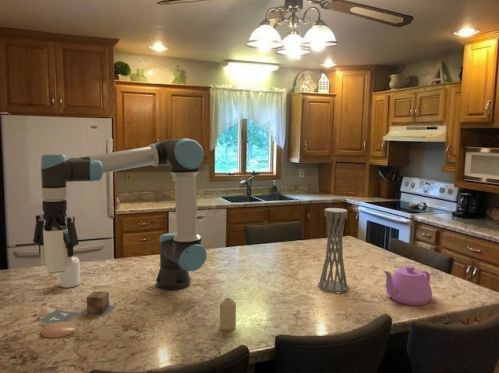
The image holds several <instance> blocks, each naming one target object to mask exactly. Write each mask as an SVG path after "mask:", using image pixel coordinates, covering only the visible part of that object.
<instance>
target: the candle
mask: <svg viewBox="0 0 499 373" xmlns="http://www.w3.org/2000/svg"><path fill="white" fill-rule="evenodd" d="M236 316H237V303H236V301H234V299H231V298H230V297H226V298H224V299H223V300H222V301H221V302H219V329H220V330H223V331H233V330H235V329H236V326H237V325H236V324H237V322H236V321H237V317H236Z"/></svg>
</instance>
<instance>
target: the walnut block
mask: <svg viewBox="0 0 499 373" xmlns="http://www.w3.org/2000/svg"><path fill="white" fill-rule="evenodd" d="M109 305H110V292H109V291H95V290H94V291H93V290H92V292H91V293H89V295H87V296H86V309H87V313H104V312H105V311H106V310H107V309H108V308H109Z"/></svg>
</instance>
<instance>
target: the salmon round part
mask: <svg viewBox="0 0 499 373" xmlns="http://www.w3.org/2000/svg"><path fill="white" fill-rule="evenodd" d="M77 330H78V324H77V323H76V322H75V321H70V320H68V321H64V322H57V323H49V324H48V325H46V326H44V327H43V328H42V329H41V330H40V332H41V336H43V337H44V338H49V339H55V338H58V339H59V338H63V337H66V336H70V335H72V334H73V333H75V332H77Z"/></svg>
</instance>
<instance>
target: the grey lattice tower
mask: <svg viewBox="0 0 499 373" xmlns="http://www.w3.org/2000/svg"><path fill="white" fill-rule="evenodd" d="M324 217H326V230H327V231H326V232H327V239H326V241H327V242H326V253H325V259H324V263H323V266H322V267H323V268H322V272H321V275H320V279H319V281H318V283H317V288H318V287H319V288H320V289H319V288H318V289H319V290H321V289H322V290H321V291H323V290H324V292H327V291H328V293H331V292H342V293H345V292H344V291H346V292H347V291H348V290H349V289H348V288H349V285H348V282H347V276H346V271H345V269H346V268H345V264H344V263H345V262H344V259H343V238H344V237H343V236H344V230H345V222H346V219H347V218H348V210H347V209H345V208H338V207H328V208H324ZM333 219H334V221H333ZM338 219H339V222H338ZM332 254H333V256H332ZM334 265H335V273H334V274H335V275H334V276H333V268H334ZM339 267H340V269H339ZM328 268H329V271H328ZM327 273H328V275H327Z"/></svg>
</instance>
